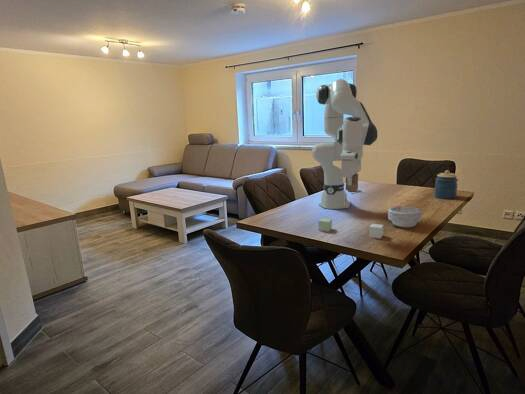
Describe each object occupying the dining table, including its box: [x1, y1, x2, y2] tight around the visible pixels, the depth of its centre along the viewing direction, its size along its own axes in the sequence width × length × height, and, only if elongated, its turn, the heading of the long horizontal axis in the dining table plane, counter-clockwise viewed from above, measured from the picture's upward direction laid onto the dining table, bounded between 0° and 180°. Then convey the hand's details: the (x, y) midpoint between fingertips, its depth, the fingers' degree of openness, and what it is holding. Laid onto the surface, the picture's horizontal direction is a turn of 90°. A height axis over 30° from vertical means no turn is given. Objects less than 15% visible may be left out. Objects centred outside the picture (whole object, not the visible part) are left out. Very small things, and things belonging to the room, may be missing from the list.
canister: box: [433, 169, 459, 200], centre depth 216 cm, size 13×13×18 cm
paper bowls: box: [387, 205, 423, 228], centre depth 165 cm, size 15×15×8 cm
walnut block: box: [345, 173, 359, 191], centre depth 154 cm, size 4×4×7 cm
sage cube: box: [318, 217, 333, 233], centre depth 163 cm, size 5×5×5 cm
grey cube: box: [368, 223, 384, 240], centre depth 151 cm, size 5×5×5 cm
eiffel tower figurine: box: [347, 189, 362, 195], centre depth 244 cm, size 15×10×13 cm
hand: (351, 183), depth 154 cm, fingers closed on walnut block, 4 cm apart
